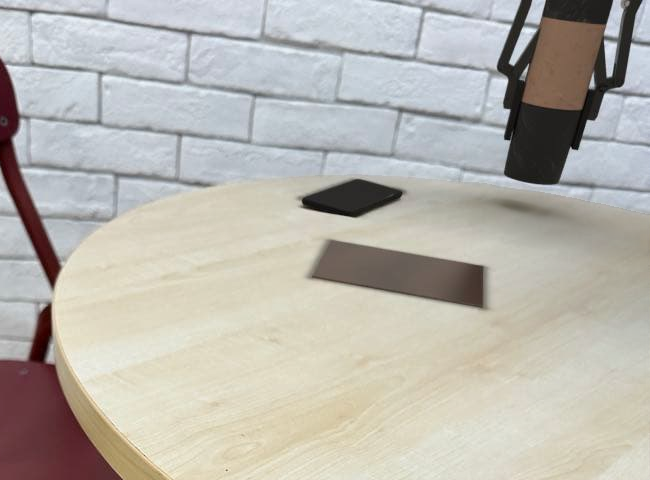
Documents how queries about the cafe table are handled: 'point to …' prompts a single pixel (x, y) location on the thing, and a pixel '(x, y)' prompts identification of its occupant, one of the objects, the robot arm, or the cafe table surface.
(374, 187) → the smartphone
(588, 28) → the travel mug
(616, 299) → the cafe table surface
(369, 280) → the coaster board
